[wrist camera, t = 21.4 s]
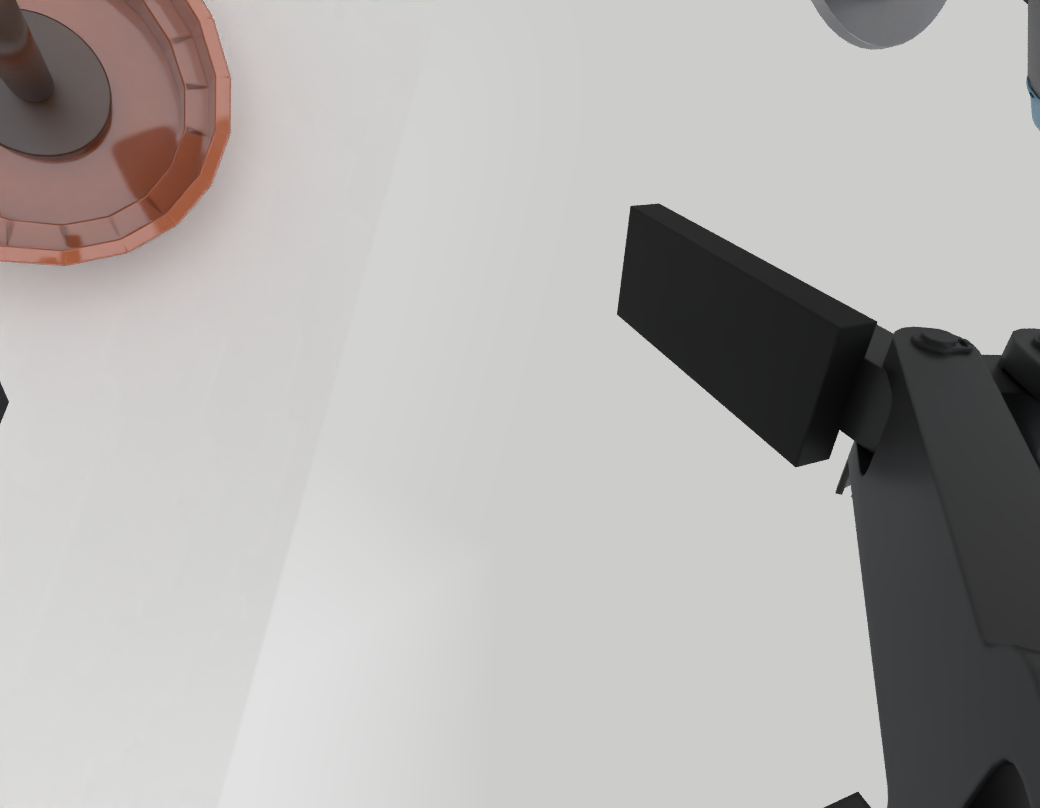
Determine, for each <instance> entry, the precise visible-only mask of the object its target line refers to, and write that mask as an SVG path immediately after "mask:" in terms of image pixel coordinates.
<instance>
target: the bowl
mask: <svg viewBox="0 0 1040 808" xmlns="http://www.w3.org/2000/svg"><path fill="white" fill-rule="evenodd" d="M16 1H17V3H18V5H19V8H20V9H26V10H30V11H34V12H38V13H40V14H43V15H46V16H48V17H51V18H53V19H55V20H57V21H59V22H60V23H62V24H64V25H65V26H67V27H68V28H70V29H71V30H72V31H74V32H75V33H76V34H78V35H79V36H80V37H81V38H82V39H83V40H84V41H85V42H86V43H87V44H88V45H89V46H90V47H91V49H92V50H93V51H94V53H95V54H96V55H97V57H98V58H99V60H100V62H101V63H102V65H103V67H104V69H105V72H106V74H107V76H108V80H109V83H110V88H111V95H112V114H111V120H110V123H109V126H108V128H107V130H106V132H105V134H104V135H103V137H102V138H101V140H100V141H99V142H98V143H97V144H96V145H95V146H93V147H92V148H91V149H89V150H88V151H86V152H84V153H82V154H81V155H78V156H75V157H72V158H68V159H63V160H40V159H34V158H30V157H26V156H22V155H20V154H17V153H14V152H12V151H10V150H8V149H6V148H4V147H2V146H1V145H0V261H3V262H18V263H32V264H46V265H61V266H66V265H73V264H78V263H83V262H88V261H92V260H97V259H102V258H107V257H112V256H117V255H121V254H126V253H127V252H131V251H133V250H134V249H136V248H138V247H140V246H142V245H143V244H145V243H147V242H149V241H150V240H152V239H154V238H156V237H157V236H159V235H161V234H163V233H164V232H166V231H168V230H170V229H171V228H173V227H175V226H176V225H177V224H179V223H180V222H181V220H182V219H183V218H184V217H185V216H186V215H187V213H188V212H189V211H190V210H191V209H192V207H193V206H194V205H195V204H196V203H197V202H198V200H199V199H200V198H201V197H202V196H203V195H204V193H205V192H206V191H207V190H208V189H209V188H210V186H211V184H212V183H213V181H214V178H215V175H216V172H217V170H218V167H219V164H220V161H221V159H222V156H223V153H224V150H225V147H226V145H227V142H228V139H229V136H230V135H229V134H230V116H231V78H230V73H229V70H228V66H227V63H226V60H225V56H224V53H223V49H222V46H221V43H220V39H219V36H218V33H217V29H216V26H215V22H214V19H213V18H212V15H211V13H210V12H209V10H208V8H207V7H206V5H205V4H204V2H203V0H16Z"/></svg>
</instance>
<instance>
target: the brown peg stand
mask: <svg viewBox="0 0 1040 808" xmlns="http://www.w3.org/2000/svg"><path fill="white" fill-rule="evenodd" d="M111 114H112V95H111V88H110V83H109V80H108V76H107V74H106V72H105V69H104V67H103V65H102V63H101V62H100V60H99V58H98V57H97V55H96V54H95V53H94V51H93V50H92V49H91V47H90V46H89V45H88V44H87V43H86V42H85V41H84V40H83V39H82V38H81V37H80V36H79V35H78V34H76V33H75V32H74V31H72V30H71V29H70V28H68V27H67V26H65V25H64V24H62V23H60V22H59V21H57V20H55V19H53V18H51V17H48V16H46V15H43V14H40V13H38V12H34V11H30V10H26V9H20V8H19V5H18V3H17V1H16V0H0V145H1V146H2V147H4V148H6V149H8V150H10V151H12V152H14V153H17V154H20V155H22V156H26V157H30V158H34V159H40V160H63V159H68V158H72V157H75V156H78V155H81V154H82V153H84V152H86V151H88V150H89V149H91V148H92V147H93V146H95V145H96V144H97V143H98V142H99V141H100V140H101V138H102V137H103V135H104V134H105V132H106V130H107V128H108V126H109V123H110V120H111Z"/></svg>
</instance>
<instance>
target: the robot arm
mask: <svg viewBox="0 0 1040 808" xmlns="http://www.w3.org/2000/svg"><path fill="white" fill-rule="evenodd" d="M1024 1H1025V2H1026V3H1027V4H1028V76H1027V89H1028V91H1029V94H1030V96H1031V107H1032V118H1033V121H1034V123H1035V125H1036V127H1037V128H1038V129H1039V130H1040V0H1024ZM628 224H629V225H628V232H627V239H626V247H625V256H624V263H623V271H622V279H621V287H620V295H619V303H618V311H617V315H618V316H619V317H621V318H622V319H623V320H624V321H625V322H626V323H628V324H629V325H630V326H631V327H632V328H634V329H635V330H636V331H637V332H638V333H639V334H640V335H642V336H643V337H644V338H645V339H646V340H647V341H649V342H650V343H651V344H652V345H653V346H655V347H656V348H657V349H658V350H659V351H661V352H662V353H663V354H664V355H665V356H666V357H668V358H669V359H670V360H671V361H672V362H673V363H675V364H676V365H677V366H678V367H679V368H680V369H681V370H683V371H684V372H685V373H686V374H687V375H688V376H690V377H691V378H692V379H693V380H694V381H696V382H697V383H698V384H699V385H700V386H701V387H702V388H704V389H705V390H706V391H707V392H708V393H709V394H711V395H712V396H713V397H714V398H715V399H716V400H718V401H719V402H720V403H721V404H722V405H723V406H725V407H726V408H727V409H728V410H729V411H730V412H732V413H733V414H734V415H735V416H736V417H737V418H739V419H740V420H741V421H742V422H743V423H744V424H746V425H747V426H748V427H749V428H750V429H751V430H753V431H754V432H755V433H756V434H757V435H759V436H760V437H761V438H762V439H763V440H764V441H766V442H767V443H768V444H769V445H770V446H771V447H773V448H774V449H775V450H776V451H777V452H779V453H780V454H781V455H782V456H783V457H784V458H786V459H787V460H788V461H789V462H790V463H791V464H793V465H794V466H795V467H799V466H803V465H807V464H811V463H815V462H818V461H823V460H827V459H829V458H830V455H831V452H832V449H833V446H834V443H835V441H836V438H837V435H838V432H839V430H841V431H842V432H844V433H845V434H846V435H848V436H849V437H850V438H852V439H853V440H854V443H853V446H852V448H851V451H850V454H849V456H848V459H847V462H846V464H845V467H844V470H843V473H842V475H841V478H840V481H839V483H838V486H837V490H836V493H837V494H842V493H843V491H844V488H845V487H847V486H849V485H851V490H852V496H851V497H852V499H853V506H854V515H855V523H856V531H857V540H858V548H859V556H860V564H861V572H862V581H863V589H864V597H865V605H866V614H867V622H868V629H869V638H870V646H871V655H872V663H873V671H874V679H875V687H876V695H877V704H878V712H879V720H880V728H881V737H882V745H883V753H884V761H885V769H886V778H887V785H888V806H887V808H1040V329H1019V330H1016V331H1013V333H1012V335H1011V337H1010V339H1009V341H1008V343H1007V345H1006V347H1005V350H1004V352H1003V354H1002V355H981V354H980V352H979V350H978V349H976V347H975V346H974V345H973V344H971V343H970V342H969V341H968V340H966V339H962V338H961V337H958V336H956V335H953V334H951V333H949V332H947V331H943V330H940V329H933V328H922V327H907V328H901V329H899V330H897V331H895V333H894V334H893V333H891V332H889V331H887V330H886V329H884V328H882V327H880V326H878V325H877V321H875V320H873V319H871V318H869V317H867V316H866V315H864V314H862V313H860V312H858V311H856V310H855V309H852V308H851V307H849V306H847V305H845V304H843V303H842V302H840V301H838V300H836V299H834V298H832V297H831V296H829V295H827V294H825V293H823V292H821V291H819V290H818V289H816V288H814V287H812V286H810V285H808V284H806V283H804V282H803V281H801V280H799V279H797V278H795V277H794V276H792V275H790V274H788V273H786V272H784V271H782V270H781V269H779V268H777V267H775V266H773V265H771V264H769V263H767V262H766V261H764V260H762V259H760V258H758V257H757V256H755V255H753V254H751V253H749V252H747V251H746V250H744V249H742V248H740V247H738V246H736V245H734V244H733V243H731V242H729V241H727V240H725V239H723V238H721V237H720V236H718V235H716V234H714V233H712V232H710V231H709V230H707V229H705V228H703V227H701V226H699V225H697V224H696V223H694V222H692V221H690V220H688V219H686V218H685V217H683V216H681V215H679V214H677V213H675V212H674V211H672V210H670V209H668V208H666V207H664V206H662V205H661V204H650V205H637V206H631V207H630V215H629V223H628ZM8 403H9V401H8V399H7V397H6V394H5V392H4V390H3V387H2V385H1V383H0V423H1V420H2V418H3V416H4V413H5V411H6V408H7V406H8ZM824 808H871V807H870V806H869V805H868V804H867V802H866V801H865V800H864V799H863V798H862V796H861V795H860V793H859V792H856V793H854V794H852V795H850V796H848V797H846V798H843V799H841V800H839V801H837V802H835V803H833V804H831V805H829V806H826V807H824Z"/></svg>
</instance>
